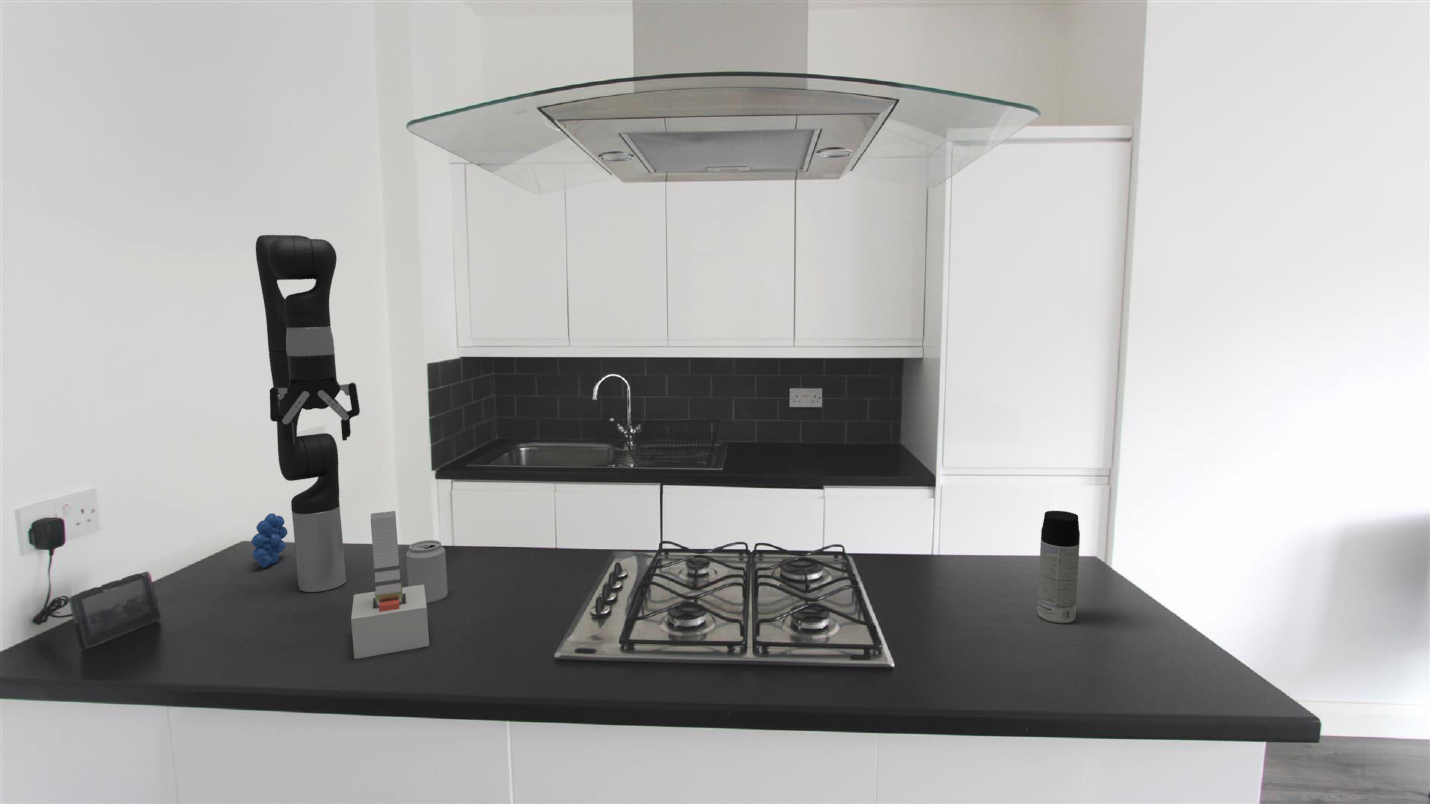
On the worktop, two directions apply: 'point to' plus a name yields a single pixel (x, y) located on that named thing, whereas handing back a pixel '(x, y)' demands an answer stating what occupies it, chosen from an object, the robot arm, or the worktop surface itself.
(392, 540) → the column
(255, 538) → the grapes
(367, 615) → the stand base
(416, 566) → the can
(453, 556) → the worktop surface
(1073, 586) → the spray can
